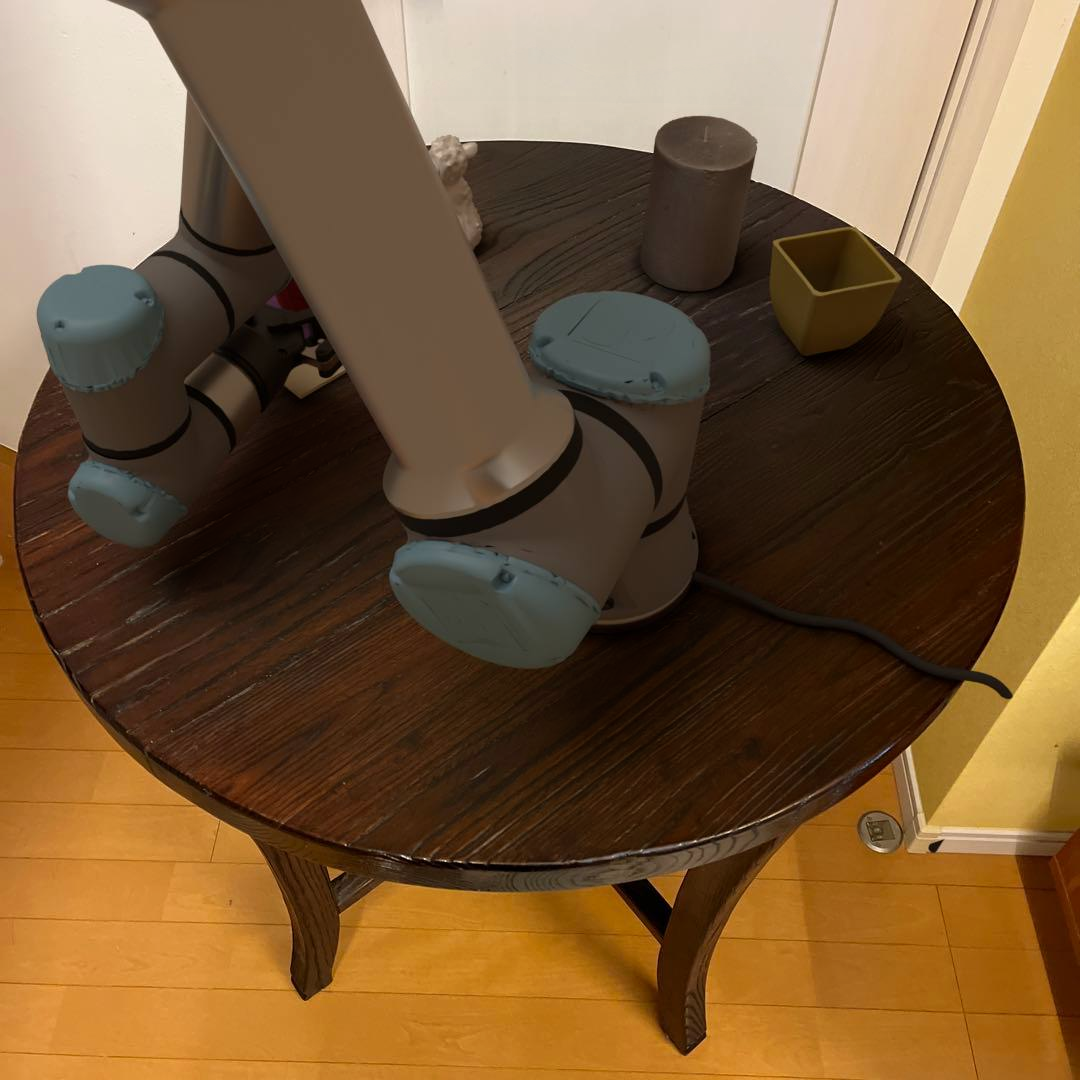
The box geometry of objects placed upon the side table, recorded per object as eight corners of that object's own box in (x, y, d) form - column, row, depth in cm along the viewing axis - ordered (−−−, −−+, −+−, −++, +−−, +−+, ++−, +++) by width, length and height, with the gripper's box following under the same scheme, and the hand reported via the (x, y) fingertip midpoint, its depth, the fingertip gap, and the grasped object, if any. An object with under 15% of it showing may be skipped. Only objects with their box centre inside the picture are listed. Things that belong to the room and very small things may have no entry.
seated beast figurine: (457, 205, 116) (453, 99, 107) (509, 240, 112) (510, 134, 103) (387, 238, 112) (376, 131, 102) (439, 276, 108) (433, 169, 98)
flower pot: (833, 301, 107) (855, 223, 100) (877, 356, 101) (904, 278, 94) (753, 317, 105) (771, 239, 98) (794, 374, 99) (815, 296, 92)
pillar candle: (627, 243, 112) (641, 107, 100) (714, 231, 114) (737, 96, 102) (658, 299, 106) (676, 162, 95) (749, 285, 108) (777, 149, 96)
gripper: (103, 381, 90) (233, 244, 103) (368, 459, 85) (471, 304, 98) (75, 310, 85) (217, 174, 97) (358, 389, 79) (468, 234, 92)
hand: (345, 239), depth 98 cm, fingers open, 13 cm apart
